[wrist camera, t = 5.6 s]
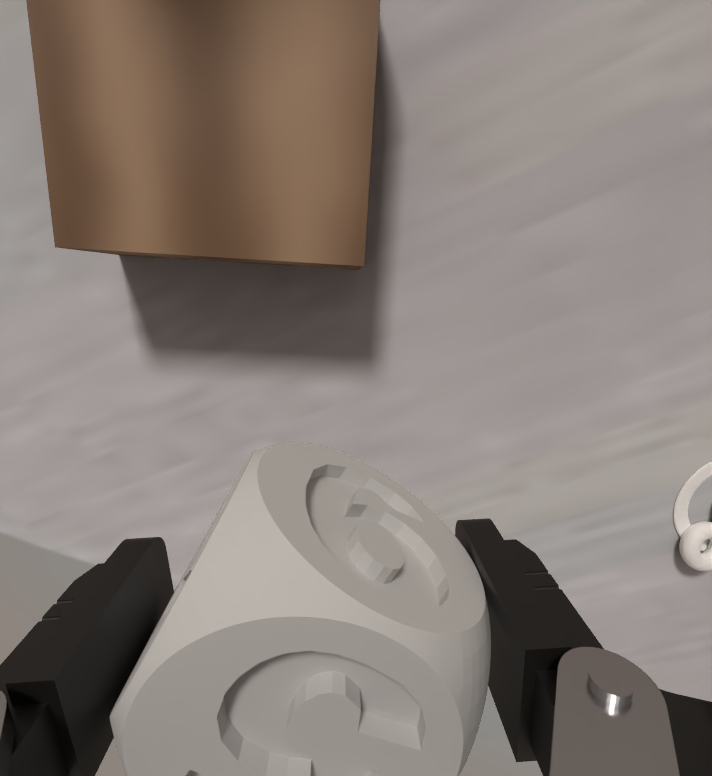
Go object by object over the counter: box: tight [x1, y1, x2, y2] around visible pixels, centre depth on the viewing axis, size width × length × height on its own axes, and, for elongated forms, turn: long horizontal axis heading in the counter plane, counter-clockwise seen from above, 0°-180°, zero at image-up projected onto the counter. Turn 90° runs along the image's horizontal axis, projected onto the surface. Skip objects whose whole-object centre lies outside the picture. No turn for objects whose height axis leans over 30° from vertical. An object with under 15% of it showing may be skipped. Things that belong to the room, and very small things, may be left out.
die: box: [110, 442, 491, 776], centre depth 8 cm, size 5×5×5 cm
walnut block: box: [26, 0, 380, 269], centre depth 20 cm, size 14×14×6 cm
